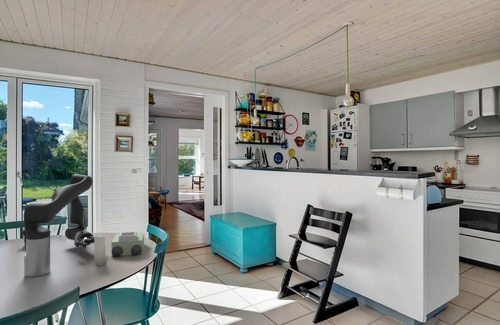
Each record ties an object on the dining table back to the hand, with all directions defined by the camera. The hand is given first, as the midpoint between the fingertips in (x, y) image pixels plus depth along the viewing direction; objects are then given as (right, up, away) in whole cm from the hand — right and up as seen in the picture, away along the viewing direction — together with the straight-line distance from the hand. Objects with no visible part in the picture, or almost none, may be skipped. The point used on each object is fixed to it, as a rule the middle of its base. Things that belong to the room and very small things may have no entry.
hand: (94, 243), depth 159 cm
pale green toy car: (+12, -8, +16) cm, 22 cm away
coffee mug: (-52, -7, +25) cm, 58 cm away
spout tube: (+6, -9, -6) cm, 12 cm away
